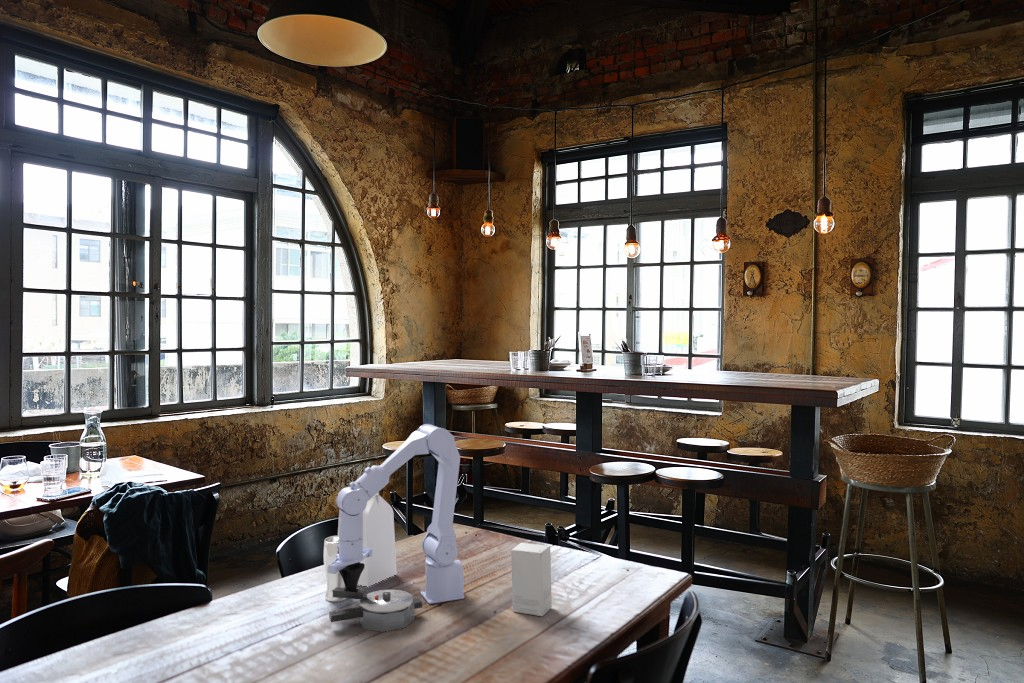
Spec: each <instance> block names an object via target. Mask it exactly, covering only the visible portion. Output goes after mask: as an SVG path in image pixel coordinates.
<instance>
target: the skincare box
mask: <svg viewBox="0 0 1024 683" xmlns="http://www.w3.org/2000/svg"><path fill="white" fill-rule="evenodd" d="M510 556H511V557H510V558H511V559H510V560H511V561H510V562H511V593H512V594H511V596H512V597H511V598H512V601H511V602H512V612H513V613H520V614H527V615H531V616H532V615H533V616H538V617H543V616H545V615H546V614H547V612H549V611H550V610H551V609H552V605H553V603H552V563H551V546H550V545H544V544H536V543H528V542H520V543H518V544H517V545H516V546H514V547H513V548H512V549H511V550H510Z"/></svg>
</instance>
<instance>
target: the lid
mask: <svg viewBox="0 0 1024 683" xmlns="http://www.w3.org/2000/svg"><path fill="white" fill-rule="evenodd" d="M333 597H336V598H348V599H351V600H353V599H354V600H359V603H360V607H361V608H362V609H363V610H365V611H368V612H373V613H392V612H397V611H401V610H404V609H406V608H408V607H410V606H411V605H412V604H413V599H414V595H413V594H411V593H410V592H408V591H405V590H401V589H380V590H375V591H372V592H369V593H367V589H366V588H357V589H355V588H341V587H336V588H335V589H334V590H333Z"/></svg>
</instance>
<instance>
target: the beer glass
mask: <svg viewBox="0 0 1024 683" xmlns="http://www.w3.org/2000/svg"><path fill="white" fill-rule="evenodd" d="M337 554H339V535H338V534H337V535H331V536H328V537H326V538H324V542H323V566H324V573H325V578H326V591H325V595H324V596H325V600H326V601H328V602H331V601H332V603H333V602H335V603H337V602H343V601H346V600H348V599H349V598H336V597H333V590H334V589H335V588H336V587H341V588H345V584H344V581H343V578H342V576H341V574H340V573H339V571H337V573H336V574H331V573H328V565H329V564H331V563H332V562H333V561H334V560H335V559H336V555H337Z"/></svg>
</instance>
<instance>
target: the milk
mask: <svg viewBox="0 0 1024 683" xmlns="http://www.w3.org/2000/svg"><path fill="white" fill-rule="evenodd" d="M394 515H395V514H394V510H393V508H392V506H391V505H390V503H389V502H387V501H386V500H385V499H384V498H383V497H382V496H381V495H380V493H379V492H378V493H377V494H376V495H374V496H373V497H372V498H371V499H370V500H369V501H367V505H366V508H365V510H364V511H363V548H372V556H371V557H366V558H364V560H362V561H361V562H360V563H364V566H365V568H364V569H363V571H362V573H361V575H360V578H359V581H358V585H357V586H360V585H362V586H361V587H363V586H367V587H368V586H370V585H373V584H375V583H377V584H379V583H378V582H380V581H382V580H384V579H386V578H389V577H391V576H393V577H395V576H394V575H396V574H397V555H396V537H395V520H394V518H395V516H394ZM337 523H338V524H337V525H338V527H337V536H338V535H339V521H338V522H337ZM397 575H398V574H397ZM397 575H396V576H397ZM391 578H392V577H391ZM389 579H390V578H389ZM386 580H387V579H386ZM384 581H385V580H384ZM382 582H383V581H382ZM380 583H381V582H380ZM375 585H376V584H375ZM373 586H374V585H373ZM367 587H366V588H367ZM370 587H371V586H370ZM368 588H369V587H368Z"/></svg>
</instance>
